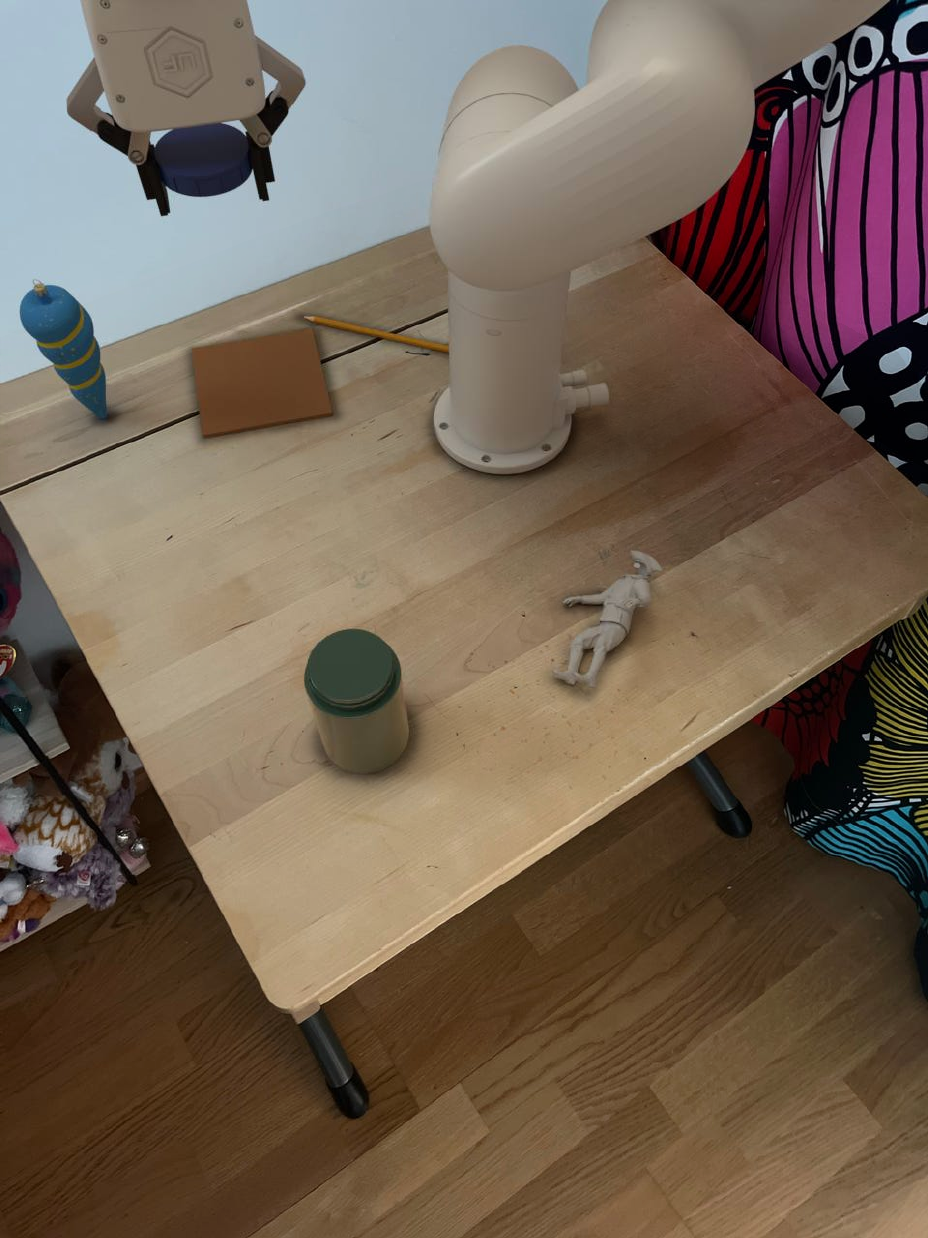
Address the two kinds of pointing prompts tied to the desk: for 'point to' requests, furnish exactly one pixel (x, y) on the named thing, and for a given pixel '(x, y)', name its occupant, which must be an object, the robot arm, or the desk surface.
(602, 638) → the soldier figure
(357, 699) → the jar
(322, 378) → the mat
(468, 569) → the desk surface
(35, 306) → the ornament
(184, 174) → the jar lid
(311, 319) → the pencil
